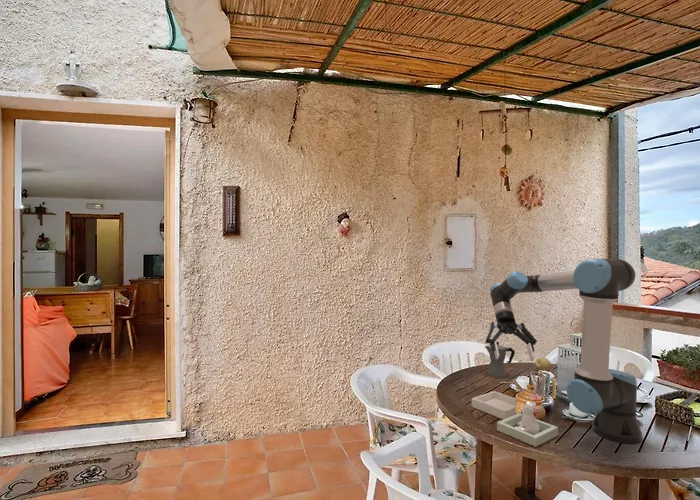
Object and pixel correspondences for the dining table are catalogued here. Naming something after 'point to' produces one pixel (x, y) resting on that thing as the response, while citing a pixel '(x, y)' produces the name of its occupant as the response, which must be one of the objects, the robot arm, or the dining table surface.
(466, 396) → the dining table surface
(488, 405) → the tray
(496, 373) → the coffeepot
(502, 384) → the dining table surface
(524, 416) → the sitting furry creature
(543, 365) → the fruit
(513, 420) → the holder
